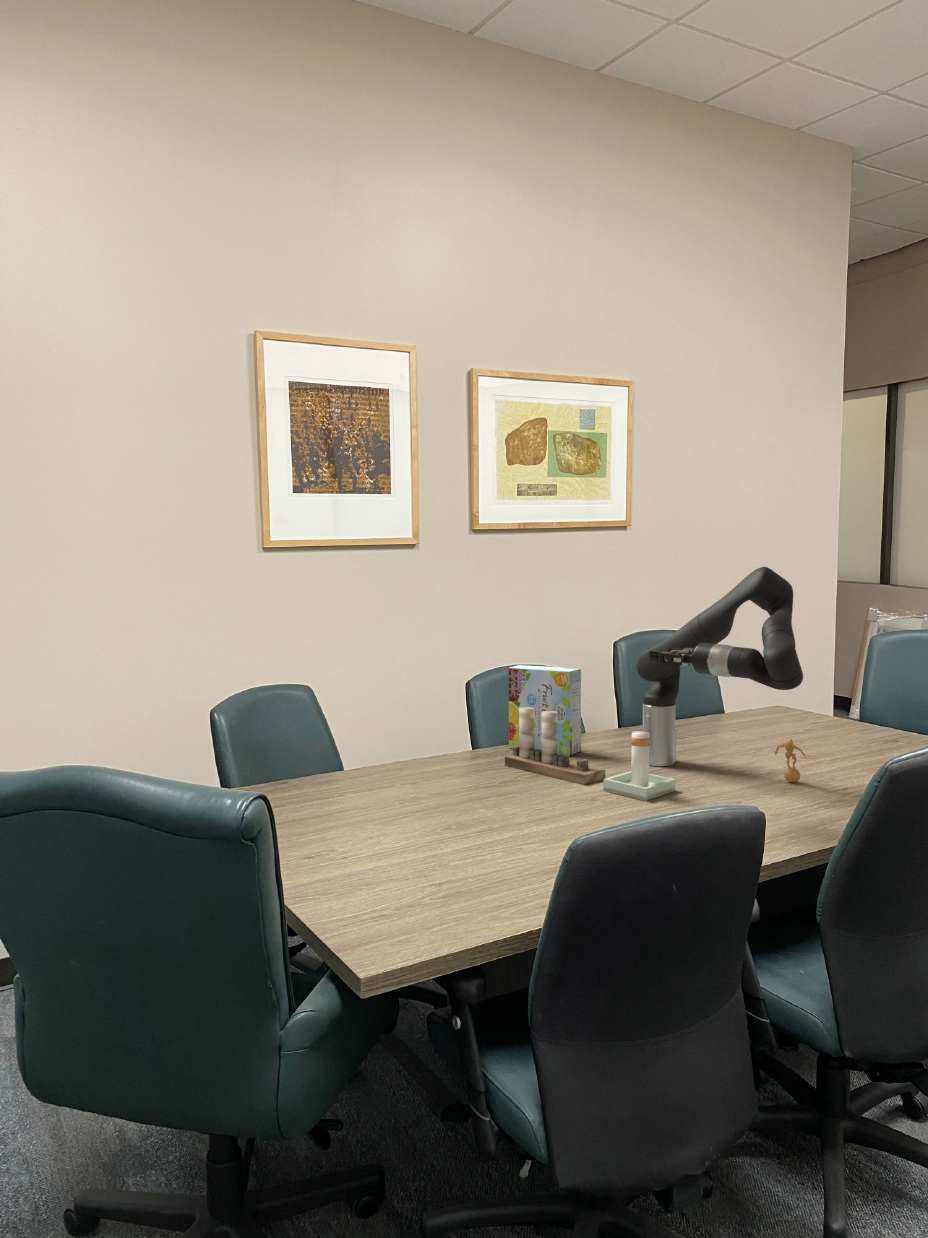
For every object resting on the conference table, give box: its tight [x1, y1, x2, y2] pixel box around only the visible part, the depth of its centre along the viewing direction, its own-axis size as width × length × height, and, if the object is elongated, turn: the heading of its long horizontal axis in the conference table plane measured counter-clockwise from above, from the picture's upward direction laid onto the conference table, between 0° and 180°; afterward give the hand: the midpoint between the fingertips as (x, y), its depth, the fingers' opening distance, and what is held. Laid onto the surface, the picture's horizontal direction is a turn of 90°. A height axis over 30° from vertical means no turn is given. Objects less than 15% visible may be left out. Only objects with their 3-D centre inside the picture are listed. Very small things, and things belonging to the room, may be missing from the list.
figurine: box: [774, 738, 808, 784], centre depth 230 cm, size 8×6×12 cm
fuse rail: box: [504, 707, 606, 785], centre depth 244 cm, size 9×29×16 cm, turn 44°
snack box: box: [507, 664, 582, 756], centre depth 269 cm, size 22×9×26 cm, turn 58°
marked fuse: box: [630, 730, 650, 787], centre depth 224 cm, size 5×5×14 cm
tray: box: [602, 770, 676, 802], centre depth 225 cm, size 13×13×3 cm
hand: (659, 653), depth 219 cm, fingers open, 8 cm apart
